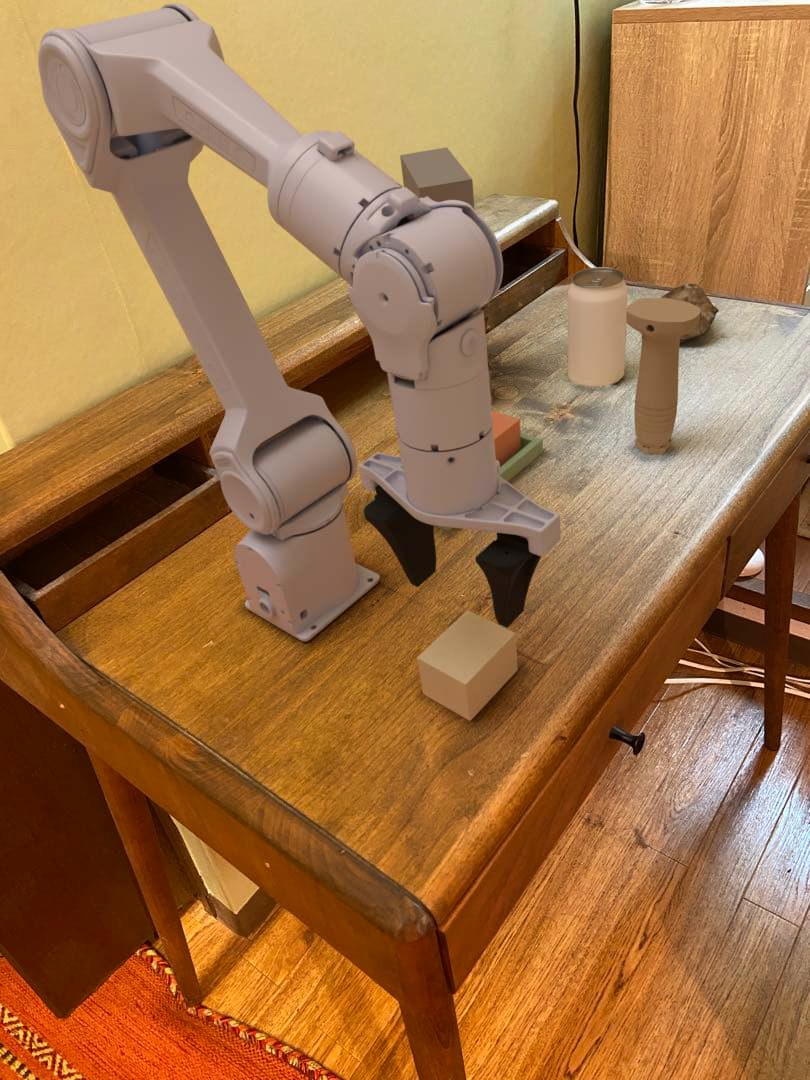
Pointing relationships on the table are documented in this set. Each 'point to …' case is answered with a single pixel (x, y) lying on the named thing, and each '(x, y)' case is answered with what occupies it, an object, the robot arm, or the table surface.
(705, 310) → the fossilized seashell
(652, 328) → the handle
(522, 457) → the tray
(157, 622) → the table surface
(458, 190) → the tall grey pillar
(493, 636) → the beige block
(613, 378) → the can
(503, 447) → the orange red block
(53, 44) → the robot arm
